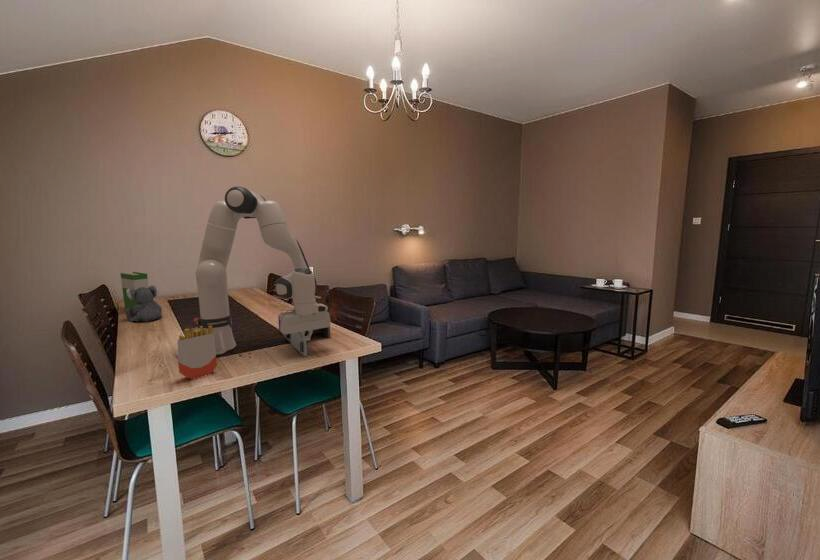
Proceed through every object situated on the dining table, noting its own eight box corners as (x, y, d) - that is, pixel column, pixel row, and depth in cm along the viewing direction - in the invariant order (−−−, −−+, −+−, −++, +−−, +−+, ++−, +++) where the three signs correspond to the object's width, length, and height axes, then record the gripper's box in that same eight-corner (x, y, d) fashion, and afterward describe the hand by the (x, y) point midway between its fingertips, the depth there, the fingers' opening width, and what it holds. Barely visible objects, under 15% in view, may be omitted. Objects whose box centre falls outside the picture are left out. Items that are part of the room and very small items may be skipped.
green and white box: (125, 311, 231) (120, 273, 227) (138, 308, 237) (134, 271, 233) (137, 314, 221) (132, 275, 218) (151, 312, 228) (147, 273, 224)
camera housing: (289, 345, 163) (288, 326, 162) (282, 338, 172) (281, 320, 171) (330, 337, 173) (329, 319, 172) (322, 331, 182) (321, 315, 181)
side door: (288, 345, 162) (287, 328, 161) (293, 344, 163) (292, 327, 162) (301, 357, 147) (300, 339, 146) (307, 356, 148) (306, 338, 147)
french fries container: (179, 378, 128) (174, 328, 125) (212, 369, 136) (207, 322, 134) (184, 382, 125) (179, 331, 123) (217, 372, 133) (213, 324, 131)
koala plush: (161, 314, 222) (157, 282, 219) (168, 319, 210) (165, 285, 207) (125, 319, 210) (121, 286, 207) (131, 325, 198) (126, 289, 195)
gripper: (281, 313, 142) (283, 347, 144) (331, 306, 153) (332, 338, 155) (276, 310, 147) (279, 343, 149) (325, 303, 158) (327, 334, 160)
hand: (306, 340), depth 152 cm, fingers closed
